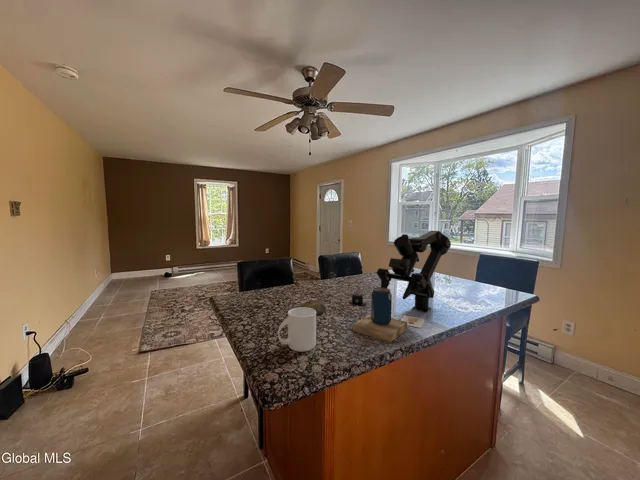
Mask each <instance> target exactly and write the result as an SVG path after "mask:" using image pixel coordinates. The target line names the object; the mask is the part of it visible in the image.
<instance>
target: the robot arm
mask: <svg viewBox="0 0 640 480" xmlns="http://www.w3.org/2000/svg"><path fill="white" fill-rule="evenodd" d="M451 245H452V243H451V240H450V238H449V237H448V236H446V235H444V234H443V233H442V232H441V231H440V230H428V232H427V233H425V234H424V233H423V234H422V235H421V236H419V237H409V235H408V234H405V233H404V234H402V235H401V236H398V237H397V238H396V239H394V241H393V246H394V247H395V248H396V251H397V253H398V254H399V256H401V258H393V257H391V258H390V259H389V263H388V267H390V268H392V269H391V270H392V272H390V271H389V269H387V268H382V267H381V268H378V269H377V271H376V272H375V274H376V275H377V276H378V278H379V279H380V283H381V284H380V287H382V288H388V287H389V285H390V284H391V283H390V282H391V281H392V279H394V280H397V281H403V282H407V283H408V284H407V286H406V287H405V290H404V293H403V295H402V300H406V299H407V298H408V297H410V296H414V306H412V308H411V310H414V311H418V312H424V313H427V312H429V311H430V310H432V307H431V306H429V305H430V302H429V301H430V300H429V299H434V296H435V290H434V288H433V284H432V280H431V279H432V277H433V274H434V272H435V269H436V268H437V266H438V263H439V262H440V259H441V257H442V256H443V255H445V254H447V253H448V251H449V250H450V249H451ZM428 246H429V247H430V252H429V254H428V256H427V258H426V261H424V262H425V263H424V264H423V266H422V268H421V270H420V272H418V273H417V272H415V270H414V268H415V266H416V263H417V262H418V263H419V262H420V258H419V255H418V253H421V254H422V253H424V252H425V251H426V250H427V249H428V248H427V247H428Z"/></svg>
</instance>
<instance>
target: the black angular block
mask: <svg viewBox="0 0 640 480" xmlns="http://www.w3.org/2000/svg"><path fill="white" fill-rule="evenodd" d="M351 300H352V301H351ZM351 300H348V301H349V303H348V304H351V305H354V304H355V305H354V306H357V305H358V307H360V306H362V307H364V306H363V305H365V306H367V305H366V304H367V303H365V302H364V301H363V300H364V299H363V294H359V293H353V294H352V296H351Z"/></svg>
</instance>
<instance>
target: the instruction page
mask: <svg viewBox="0 0 640 480" xmlns="http://www.w3.org/2000/svg"><path fill="white" fill-rule="evenodd" d="M400 320H401V321H405V322H407V327H414V328H418V329H422V327H423V325H424V323H425V320H426V318H423V317H417V316H411V315H403V316H402V318H401V319H400Z"/></svg>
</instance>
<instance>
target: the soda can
mask: <svg viewBox="0 0 640 480" xmlns="http://www.w3.org/2000/svg"><path fill="white" fill-rule="evenodd" d="M392 295H393V294H392V292H391V289H390V288H388V287H387V288H382V287H381V286H379V287H378V286H377V287H374V288H373V290H372V292H371V302H370V304H371V306H370V309H371V311H370V312H371V313H370V314H371V319H372V321H373V323H374V324H376V325H381V326H385V325H388V324H389V323H390V321H391V318H392V302H393V301H392V298H393V296H392Z"/></svg>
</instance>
